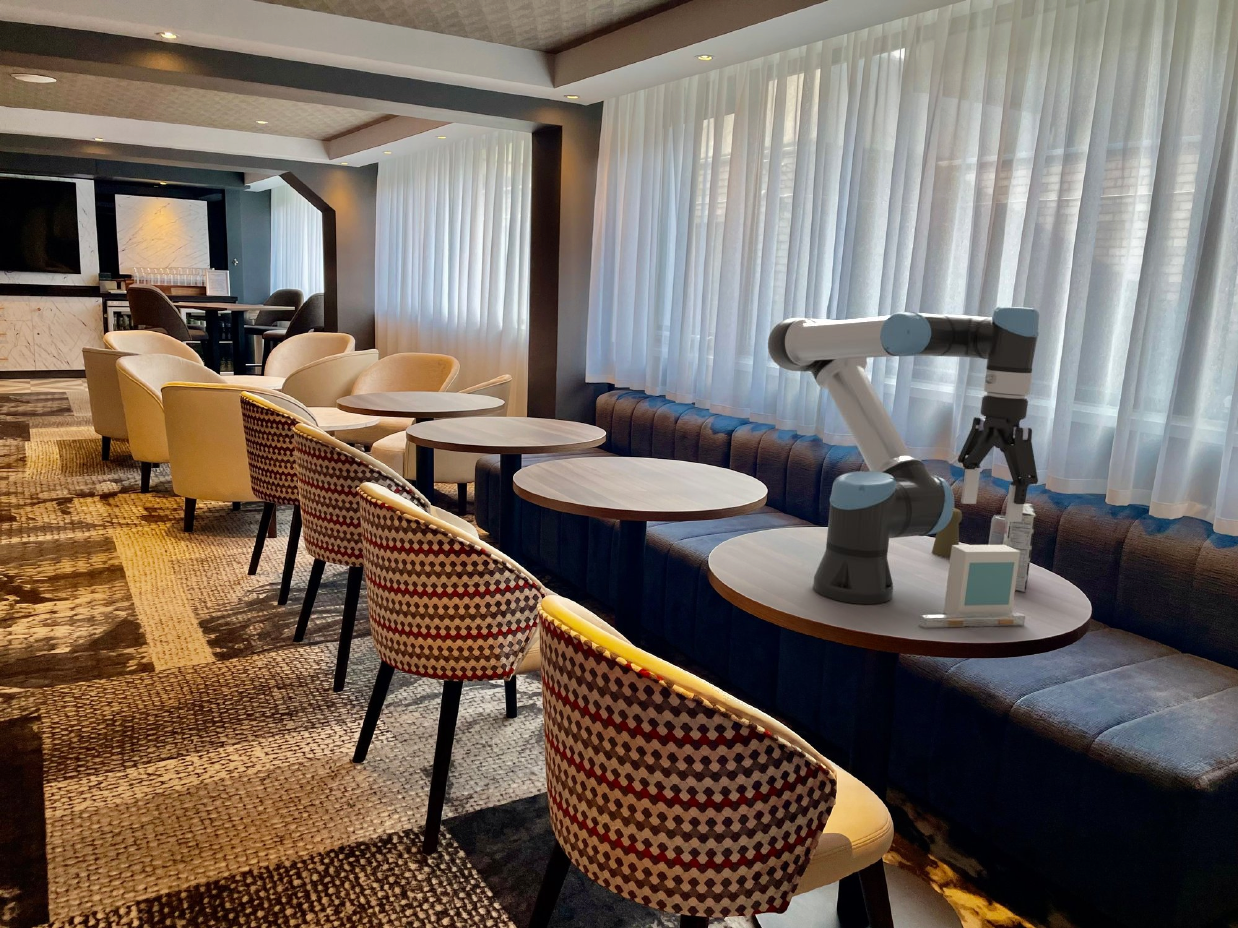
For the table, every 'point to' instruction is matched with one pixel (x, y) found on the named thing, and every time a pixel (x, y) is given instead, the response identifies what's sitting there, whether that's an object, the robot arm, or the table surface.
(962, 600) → the carton box
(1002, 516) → the energy drink
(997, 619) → the rail
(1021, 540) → the candy bar box
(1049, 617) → the table surface
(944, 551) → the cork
